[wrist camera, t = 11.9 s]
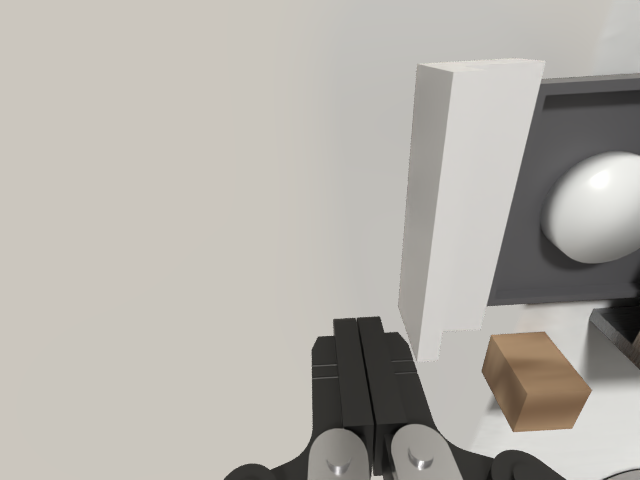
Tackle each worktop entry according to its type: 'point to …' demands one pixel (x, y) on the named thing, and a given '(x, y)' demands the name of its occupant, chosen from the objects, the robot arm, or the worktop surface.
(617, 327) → the housing
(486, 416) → the worktop surface
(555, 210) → the white rounded flat dome
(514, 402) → the wooden block
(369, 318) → the robot arm
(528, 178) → the tray
